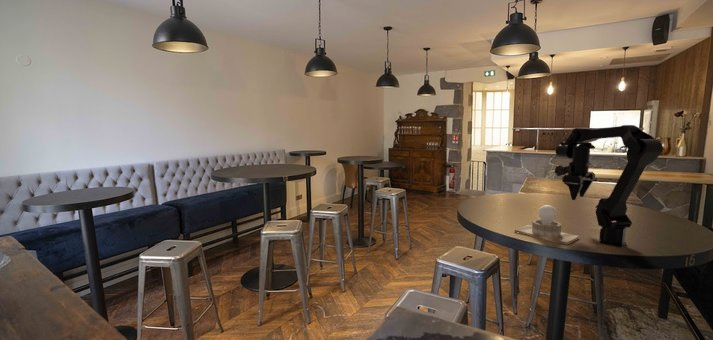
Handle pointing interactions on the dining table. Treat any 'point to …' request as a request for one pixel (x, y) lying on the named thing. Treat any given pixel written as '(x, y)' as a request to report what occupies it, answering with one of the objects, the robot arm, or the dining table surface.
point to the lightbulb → (547, 214)
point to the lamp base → (556, 239)
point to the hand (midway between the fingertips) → (577, 198)
